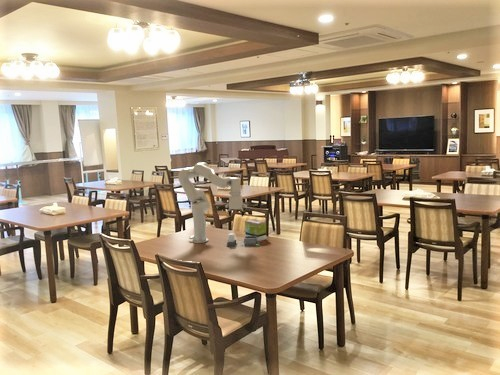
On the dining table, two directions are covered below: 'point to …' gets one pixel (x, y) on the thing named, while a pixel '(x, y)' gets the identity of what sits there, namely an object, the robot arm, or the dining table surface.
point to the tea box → (256, 229)
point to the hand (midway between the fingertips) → (236, 216)
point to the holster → (231, 244)
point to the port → (250, 241)
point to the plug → (231, 237)
